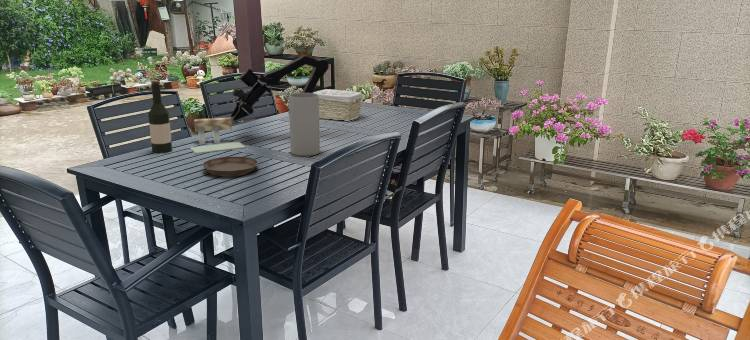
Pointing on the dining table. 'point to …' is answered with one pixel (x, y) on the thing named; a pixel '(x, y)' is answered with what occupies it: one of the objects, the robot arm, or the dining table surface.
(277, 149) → the dining table surface
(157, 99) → the wine bottle
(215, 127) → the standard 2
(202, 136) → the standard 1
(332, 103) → the storage basket
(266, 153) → the dining table surface
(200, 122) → the beech rail
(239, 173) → the plant saucer
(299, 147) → the cylinder vase
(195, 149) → the mat
